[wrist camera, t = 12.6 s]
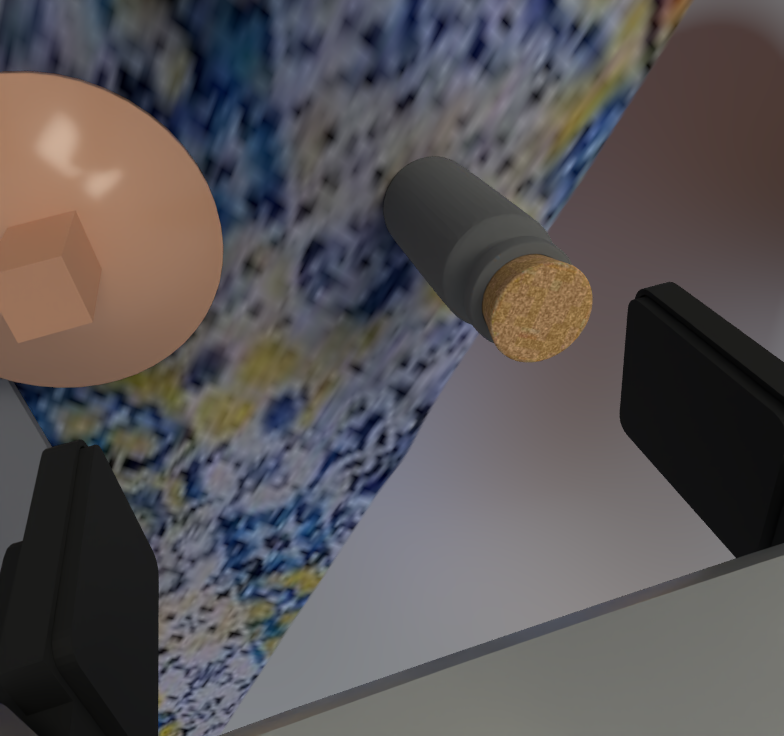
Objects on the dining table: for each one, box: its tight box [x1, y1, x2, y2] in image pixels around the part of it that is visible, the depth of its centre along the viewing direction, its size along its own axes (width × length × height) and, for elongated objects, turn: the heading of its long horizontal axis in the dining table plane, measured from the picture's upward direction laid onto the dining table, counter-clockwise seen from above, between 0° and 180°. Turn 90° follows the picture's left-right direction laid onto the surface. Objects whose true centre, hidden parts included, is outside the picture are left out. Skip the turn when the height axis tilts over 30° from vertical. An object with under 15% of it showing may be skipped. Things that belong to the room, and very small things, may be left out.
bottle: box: [383, 157, 592, 362], centre depth 35 cm, size 6×6×15 cm
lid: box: [0, 71, 223, 388], centre depth 32 cm, size 16×16×7 cm
